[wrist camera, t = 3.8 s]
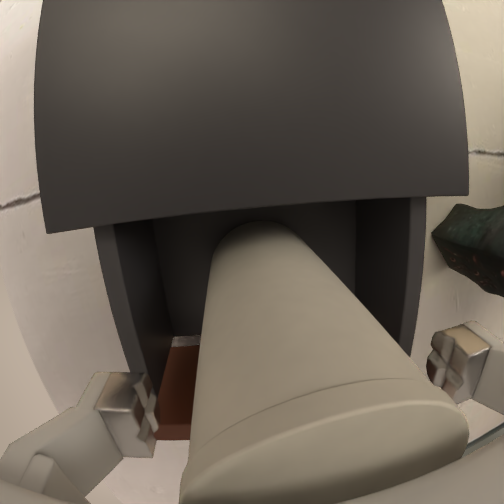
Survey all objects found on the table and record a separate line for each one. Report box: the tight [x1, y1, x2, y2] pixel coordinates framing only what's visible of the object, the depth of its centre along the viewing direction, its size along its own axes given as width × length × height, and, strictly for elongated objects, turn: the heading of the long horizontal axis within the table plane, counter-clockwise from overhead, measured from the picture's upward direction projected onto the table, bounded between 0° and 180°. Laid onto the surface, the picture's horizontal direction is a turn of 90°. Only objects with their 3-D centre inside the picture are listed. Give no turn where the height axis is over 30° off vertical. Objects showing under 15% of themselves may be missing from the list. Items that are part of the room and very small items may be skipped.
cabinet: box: [34, 0, 469, 234], centre depth 11 cm, size 15×15×9 cm
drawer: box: [93, 197, 426, 440], centre depth 15 cm, size 18×13×7 cm
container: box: [179, 221, 469, 504], centre depth 10 cm, size 5×5×13 cm
